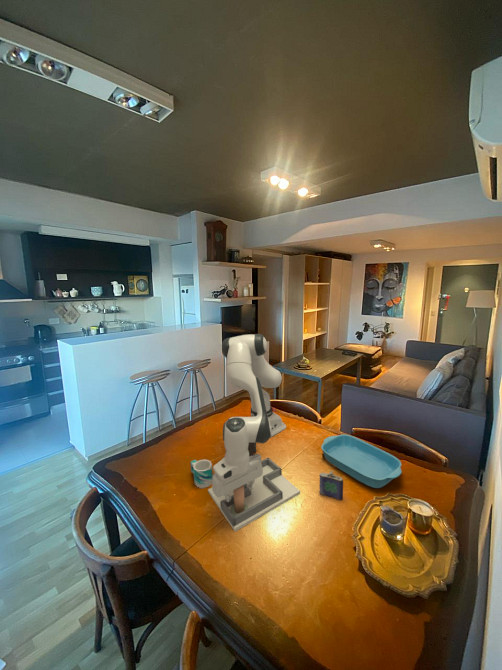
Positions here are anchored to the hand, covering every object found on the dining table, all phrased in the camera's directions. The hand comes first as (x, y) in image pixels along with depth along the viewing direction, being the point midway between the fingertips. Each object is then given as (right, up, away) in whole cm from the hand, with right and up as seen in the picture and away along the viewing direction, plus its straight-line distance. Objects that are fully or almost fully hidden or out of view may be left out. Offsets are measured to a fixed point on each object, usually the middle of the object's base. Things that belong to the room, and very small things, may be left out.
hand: (239, 494), depth 103 cm
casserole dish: (+55, -2, +25) cm, 60 cm away
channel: (+5, -6, +11) cm, 13 cm away
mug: (-18, -5, +20) cm, 28 cm away
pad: (0, -6, +1) cm, 6 cm away
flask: (+37, -5, +8) cm, 38 cm away
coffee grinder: (+2, -1, +40) cm, 40 cm away
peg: (0, -6, +1) cm, 6 cm away
